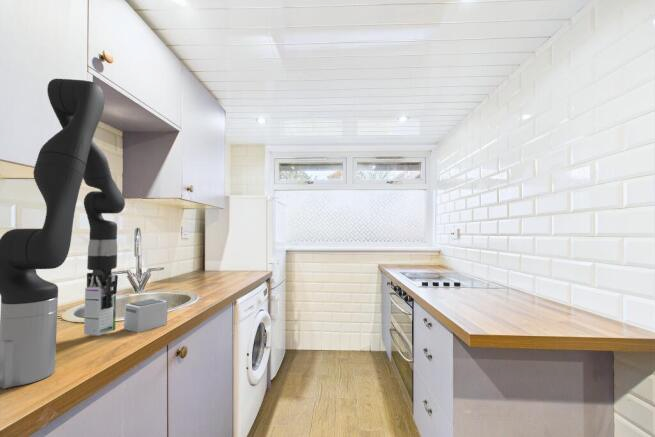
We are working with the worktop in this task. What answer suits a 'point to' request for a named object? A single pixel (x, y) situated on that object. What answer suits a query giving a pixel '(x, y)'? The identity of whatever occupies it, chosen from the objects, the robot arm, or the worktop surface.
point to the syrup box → (98, 312)
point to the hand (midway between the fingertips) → (100, 306)
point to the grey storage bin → (145, 315)
